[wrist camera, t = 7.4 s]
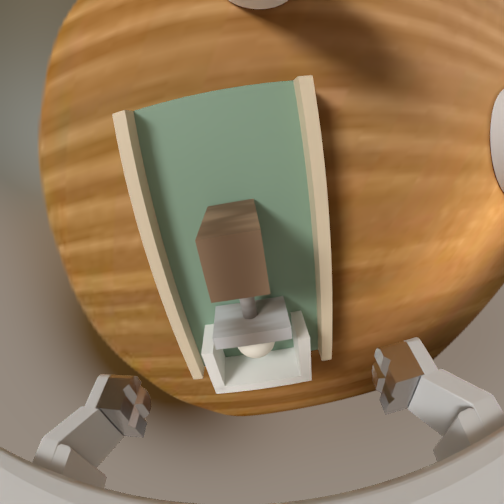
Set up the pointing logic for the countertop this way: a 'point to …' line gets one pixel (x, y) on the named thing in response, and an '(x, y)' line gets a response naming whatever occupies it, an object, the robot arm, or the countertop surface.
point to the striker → (239, 277)
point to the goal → (259, 363)
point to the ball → (257, 350)
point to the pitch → (232, 199)
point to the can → (258, 3)
